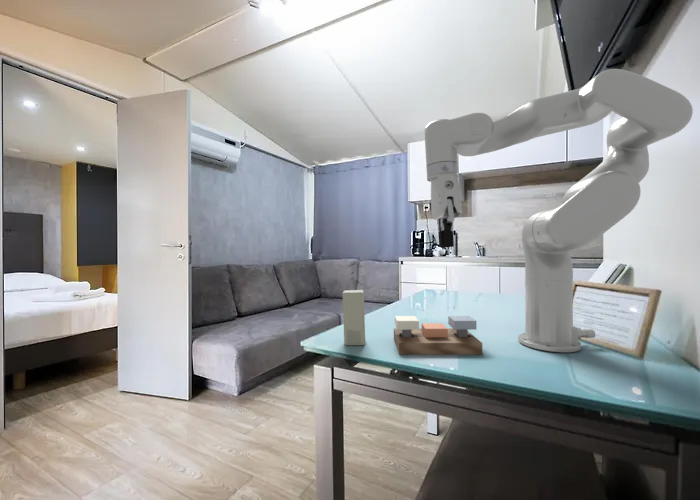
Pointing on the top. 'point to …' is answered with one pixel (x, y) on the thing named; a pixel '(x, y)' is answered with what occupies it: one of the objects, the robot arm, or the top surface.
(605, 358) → the top surface
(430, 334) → the terracotta key
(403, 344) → the walnut board
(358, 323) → the box
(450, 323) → the slate key
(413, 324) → the cream key
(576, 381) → the top surface
